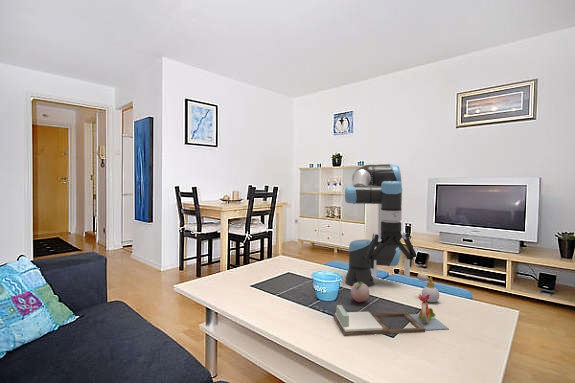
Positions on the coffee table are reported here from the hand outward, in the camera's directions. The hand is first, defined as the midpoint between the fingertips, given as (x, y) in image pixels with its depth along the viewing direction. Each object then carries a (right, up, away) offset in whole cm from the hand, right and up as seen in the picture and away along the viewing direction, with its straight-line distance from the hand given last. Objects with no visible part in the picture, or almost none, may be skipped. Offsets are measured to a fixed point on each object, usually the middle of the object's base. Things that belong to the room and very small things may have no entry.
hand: (390, 276), depth 118 cm
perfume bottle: (+25, -18, +24) cm, 39 cm away
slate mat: (+16, -19, +2) cm, 24 cm away
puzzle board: (-5, -19, 0) cm, 19 cm away
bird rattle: (+15, -19, +2) cm, 24 cm away
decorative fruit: (-6, -18, +22) cm, 29 cm away
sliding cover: (-13, -18, -1) cm, 22 cm away
